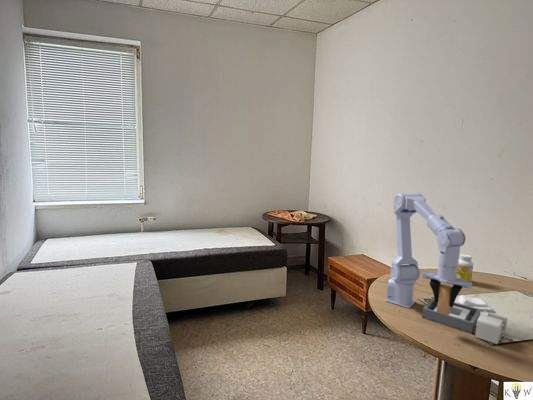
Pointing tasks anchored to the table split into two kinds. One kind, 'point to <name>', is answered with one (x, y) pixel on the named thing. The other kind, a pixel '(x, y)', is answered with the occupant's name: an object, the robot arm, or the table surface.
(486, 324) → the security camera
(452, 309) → the walled box
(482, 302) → the light switch
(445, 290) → the brown cylindrical peg
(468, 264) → the supplement bottle
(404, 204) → the robot arm
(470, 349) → the table surface
